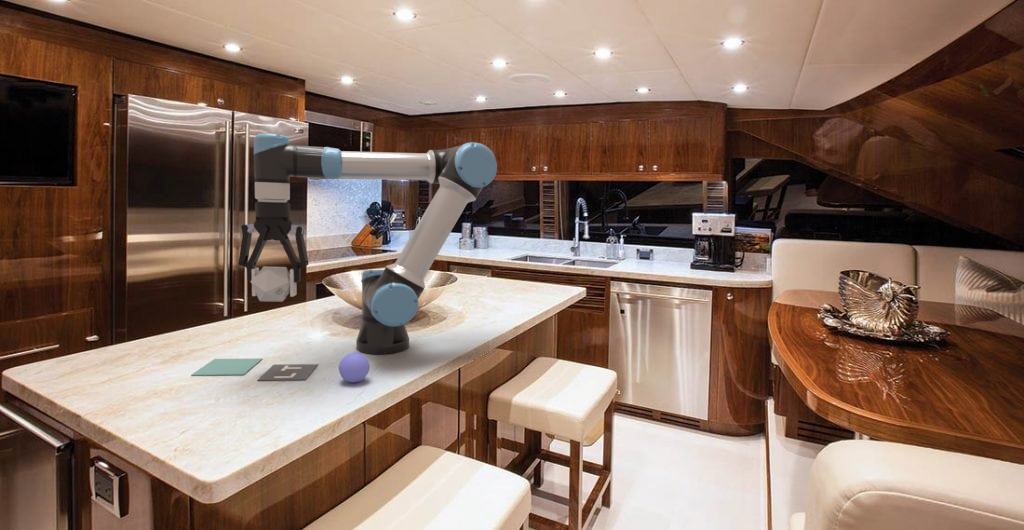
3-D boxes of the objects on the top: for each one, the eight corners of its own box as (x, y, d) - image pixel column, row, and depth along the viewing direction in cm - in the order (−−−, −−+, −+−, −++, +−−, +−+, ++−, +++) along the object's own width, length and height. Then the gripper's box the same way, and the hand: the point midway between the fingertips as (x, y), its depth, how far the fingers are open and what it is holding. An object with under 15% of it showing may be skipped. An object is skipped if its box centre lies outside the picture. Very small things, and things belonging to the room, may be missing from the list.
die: (268, 308, 117) (296, 273, 119) (236, 288, 117) (264, 253, 120) (281, 313, 125) (306, 280, 128) (251, 293, 125) (277, 261, 128)
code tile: (317, 365, 131) (317, 364, 131) (305, 380, 121) (305, 379, 121) (273, 365, 130) (273, 364, 130) (257, 381, 119) (257, 379, 119)
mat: (262, 359, 135) (262, 358, 135) (244, 375, 123) (243, 374, 123) (214, 359, 133) (214, 358, 133) (191, 375, 121) (191, 374, 121)
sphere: (369, 375, 125) (369, 348, 124) (369, 385, 119) (369, 357, 118) (339, 377, 123) (339, 349, 122) (337, 387, 117) (337, 358, 116)
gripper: (322, 202, 125) (322, 292, 128) (232, 199, 122) (235, 291, 125) (314, 203, 118) (315, 298, 121) (219, 199, 115) (222, 297, 118)
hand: (274, 295), depth 123 cm, fingers closed on die, 8 cm apart
